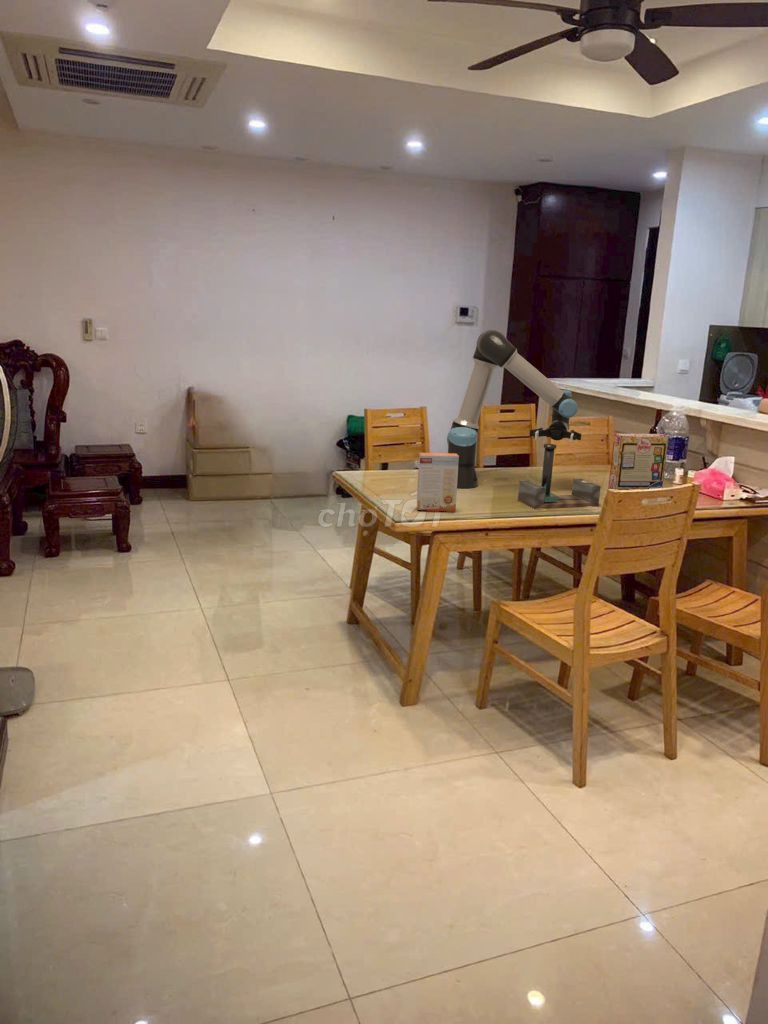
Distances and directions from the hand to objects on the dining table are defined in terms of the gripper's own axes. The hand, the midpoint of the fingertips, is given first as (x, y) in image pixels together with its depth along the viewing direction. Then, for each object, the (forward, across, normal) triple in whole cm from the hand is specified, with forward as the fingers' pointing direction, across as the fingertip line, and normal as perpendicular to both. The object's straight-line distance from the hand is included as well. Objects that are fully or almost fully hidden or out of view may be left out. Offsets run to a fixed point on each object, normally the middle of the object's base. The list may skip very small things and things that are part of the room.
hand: (553, 437), depth 296 cm
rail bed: (+6, -4, -24) cm, 26 cm away
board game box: (-12, -33, -25) cm, 43 cm away
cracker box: (+38, +37, -24) cm, 58 cm away
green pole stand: (+10, +1, -22) cm, 24 cm away
